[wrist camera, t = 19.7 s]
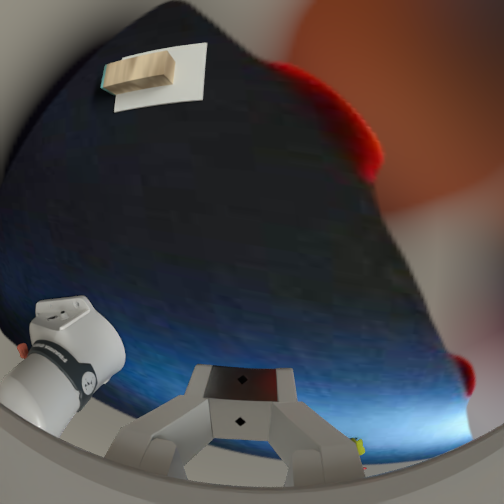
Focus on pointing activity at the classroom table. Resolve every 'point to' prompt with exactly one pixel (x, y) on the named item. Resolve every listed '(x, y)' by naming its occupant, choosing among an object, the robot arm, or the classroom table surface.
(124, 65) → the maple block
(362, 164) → the classroom table surface
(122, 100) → the grey mat
